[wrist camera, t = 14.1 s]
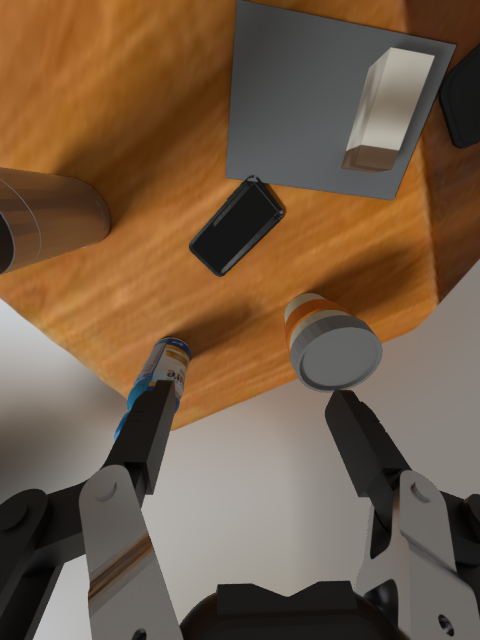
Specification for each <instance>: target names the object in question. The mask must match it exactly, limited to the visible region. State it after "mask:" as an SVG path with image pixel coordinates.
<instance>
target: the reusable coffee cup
mask: <svg viewBox="0 0 480 640" xmlns="http://www.w3.org/2000/svg"><path fill="white" fill-rule="evenodd" d="M284 318H285V323H286V324H285V336H286V342H287V347H288V352H289V354H290V361H291V364H292V366H293V368H294V370H295V372H296V374H297V376H298V377H299V379H300V381H301V382H302V383H303V384H304V385H305V386H307V387H308V388H310V389H312V390H314V391H318V392H326V393H331V392H334V391H335V390H336V389H337V390H347V389H349V388H352V387H354V386H356V385H358V384H360V383H362V382H363V381H365V380H366V379H367V378H368V377H369V376H371V374H373V372H374V371H375V370H376V369H377V367H378V365H379V363H380V361H381V358H382V346H381V343H380V341H379V339H378V338H377V336H376V335H375V334H374V333H373V331H372V330H371V329H370V328H369V326H368V325H367V324H366V323H365V322H364V321H362V320H360V319H358V318H356V317H355V316H354V315H353V314H352V313H351V312H349V311H348V310H346V309H345V308H343V307H342V306H340V305H339V304H337V303H335V302H333V301H331V300H328V299H325V298H323V297H322V296H320V295H318V294H315V293H305V294H301V295H299V296H297V297H295V298H294V299H293V300H292V301H291V302H290V303H289V304H288V305H287V307H286V309H285V313H284Z"/></svg>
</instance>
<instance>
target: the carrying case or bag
mask: <svg viewBox="0 0 480 640" xmlns="http://www.w3.org/2000/svg"><path fill="white" fill-rule="evenodd" d="M439 103H440V106H441V109H442V112H443V115H444V119H445V122H446V125H447V128H448V132H449V135H450V138H451V141H452V144H453V145H454V146H455V147H457V148H466V147H469V146H471V145H473V144H476V143H478V142H480V44H479V45H478V46H477V47H476V48H474V49H473V50H472V51H471V52H470V53H469V54H468V55H467V56H466V57H465V58H464V59H463V60H462V61H460V62H459V63H458V64H457V65H456V66H455V67H454V68H453V69H452V70H451V71H450V72H449V73H448V75H447V76H446V77H445V79H444V81H443V82H442V85H441V87H440V91H439Z"/></svg>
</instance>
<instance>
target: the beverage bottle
mask: <svg viewBox="0 0 480 640" xmlns="http://www.w3.org/2000/svg"><path fill="white" fill-rule="evenodd" d="M190 360H191V350H190V347H189V346H188V345H187V344H186V343H185V342H184V341H182V340H180V339H177V338H171V337H169V338H164V339H161V340H159V341H158V342H157V343H156V344H155V346H154V348H153V350H152V352H151V354H150V356H149V357H148V359H147V361H146V363H145V365H144V367H143V369H142V371H141V372H140V374H139V375H138V377H137V378H136V380H135V382H134V386H133V389H132V390H131V391H130V393H129V396H128V402H127V406H128V412H127V413H126V414H125V415H124V416H123V418H122V420H121V422H120V424H119V426H118V428H117V430H116V433H115V437H114V439H115V441H116V439H117V437H118V435H119V433H120V430H121V428H122V426H123V424H124V422H125V421H126V418H127V416H128V414H129V413H130V410H131V407H132V405H133V403H134V401H135V399H136V398H137V397H138V396H139V395H140V394H142V393H143V392H144V391H153V389H154V386H155V384H156V382H157V380H174V382H175V396H176V407H175V413H176V411H177V409H178V407H179V403H180V399H181V397H182V394H183V391H184V381H185V377H186V373H187V369H188V365H189V362H190ZM175 413H174V414H175Z"/></svg>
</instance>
